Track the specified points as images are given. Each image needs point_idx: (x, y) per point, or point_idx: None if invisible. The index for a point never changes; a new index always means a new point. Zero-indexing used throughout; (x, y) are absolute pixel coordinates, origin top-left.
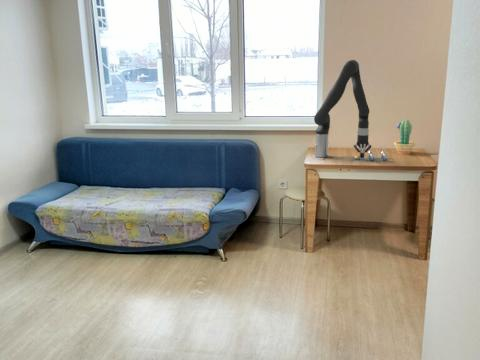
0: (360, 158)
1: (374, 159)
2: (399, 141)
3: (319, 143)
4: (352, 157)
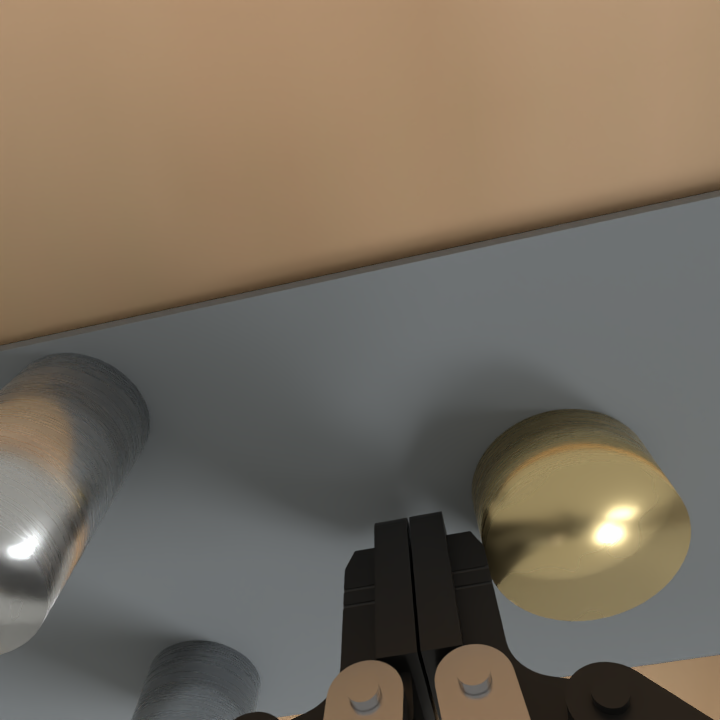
0: None
1: None
2: None
3: None
4: (689, 653)
